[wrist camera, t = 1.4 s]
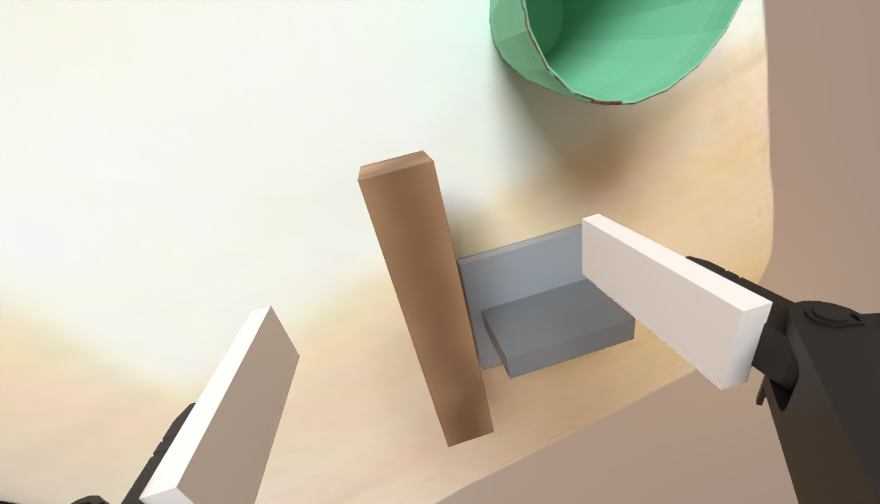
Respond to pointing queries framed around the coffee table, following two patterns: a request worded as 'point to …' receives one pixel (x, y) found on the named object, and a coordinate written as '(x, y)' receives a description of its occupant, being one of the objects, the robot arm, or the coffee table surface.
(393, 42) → the coffee table surface
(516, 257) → the fulcrum
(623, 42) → the mug
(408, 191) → the plank
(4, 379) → the coffee table surface
